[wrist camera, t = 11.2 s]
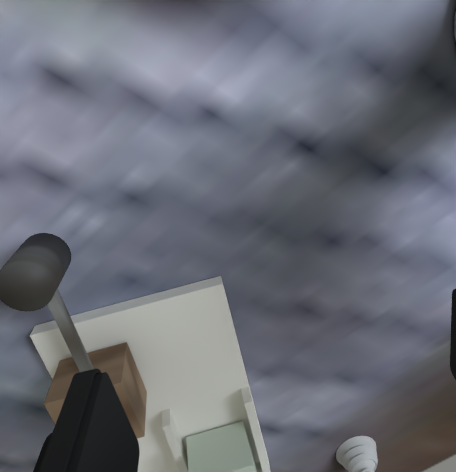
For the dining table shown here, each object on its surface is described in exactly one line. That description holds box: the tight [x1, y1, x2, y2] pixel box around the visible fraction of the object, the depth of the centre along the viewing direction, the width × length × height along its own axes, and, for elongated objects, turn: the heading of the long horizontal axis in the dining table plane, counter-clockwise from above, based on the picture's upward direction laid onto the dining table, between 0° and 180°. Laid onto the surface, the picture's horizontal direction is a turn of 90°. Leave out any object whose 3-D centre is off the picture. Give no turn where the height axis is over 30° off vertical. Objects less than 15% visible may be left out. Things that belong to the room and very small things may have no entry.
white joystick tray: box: [30, 276, 271, 472], centre depth 37 cm, size 24×17×7 cm
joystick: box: [0, 233, 147, 439], centre depth 31 cm, size 18×6×6 cm, turn 12°
